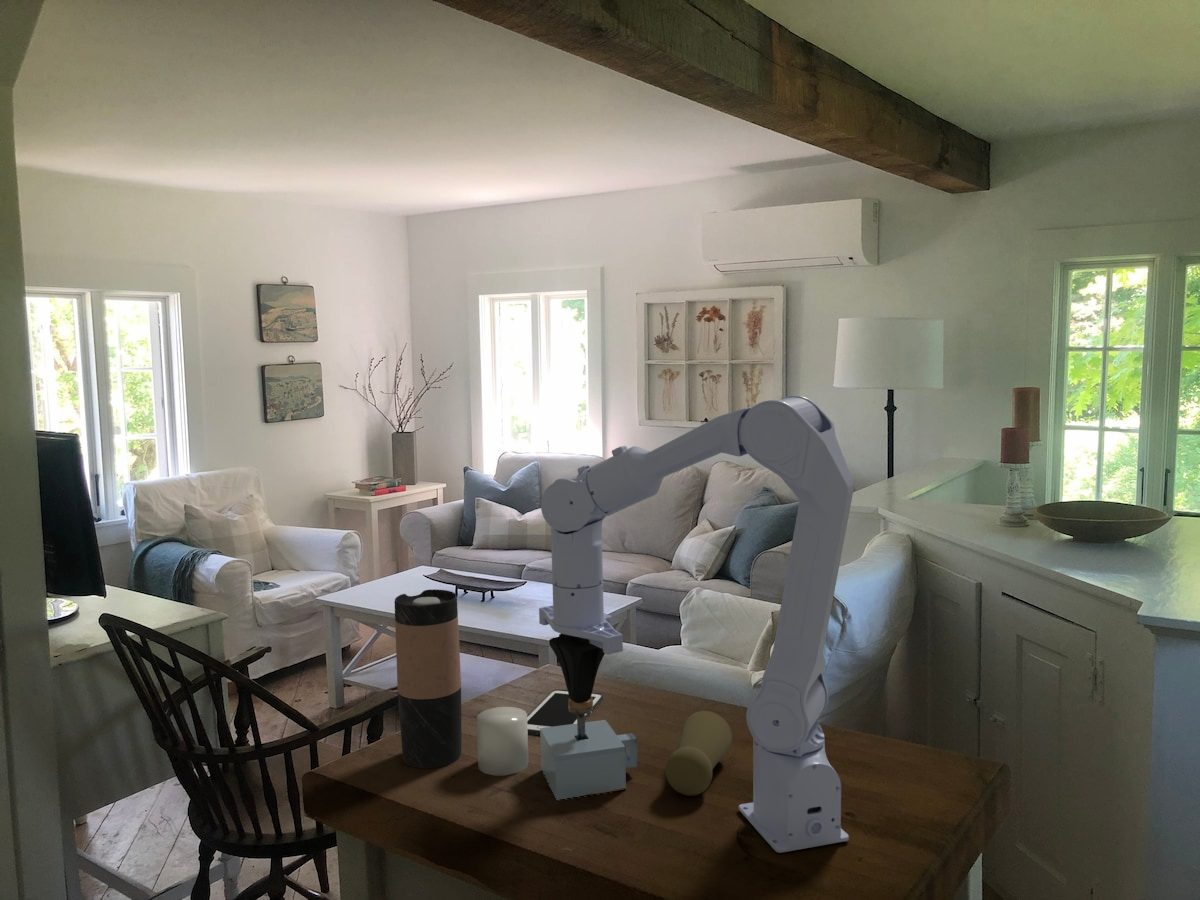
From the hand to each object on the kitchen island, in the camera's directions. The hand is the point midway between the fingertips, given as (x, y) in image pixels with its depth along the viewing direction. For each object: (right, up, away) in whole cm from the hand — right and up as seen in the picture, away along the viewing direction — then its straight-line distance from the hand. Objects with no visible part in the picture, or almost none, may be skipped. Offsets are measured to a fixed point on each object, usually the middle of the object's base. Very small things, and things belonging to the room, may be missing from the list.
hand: (580, 698), depth 106 cm
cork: (+15, -6, +6) cm, 17 cm away
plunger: (0, -6, +1) cm, 6 cm away
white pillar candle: (-9, -9, +6) cm, 14 cm away
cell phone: (-3, -8, +21) cm, 22 cm away
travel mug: (-18, -9, +8) cm, 22 cm away
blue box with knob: (+1, -10, +1) cm, 10 cm away
